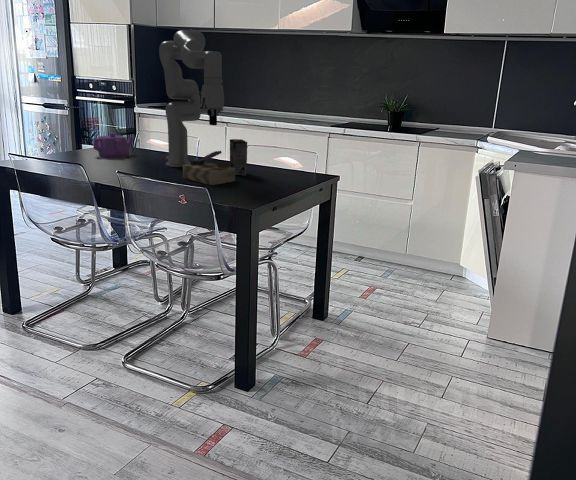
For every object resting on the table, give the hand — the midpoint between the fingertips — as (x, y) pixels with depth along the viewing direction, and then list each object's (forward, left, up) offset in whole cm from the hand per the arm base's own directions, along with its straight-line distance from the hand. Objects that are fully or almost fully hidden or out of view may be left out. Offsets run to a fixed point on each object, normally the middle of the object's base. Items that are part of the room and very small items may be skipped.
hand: (213, 124), depth 245 cm
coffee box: (-5, +20, -25) cm, 33 cm away
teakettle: (-84, +1, -25) cm, 88 cm away
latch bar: (-4, 0, -15) cm, 16 cm away
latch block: (-3, 0, -25) cm, 25 cm away
